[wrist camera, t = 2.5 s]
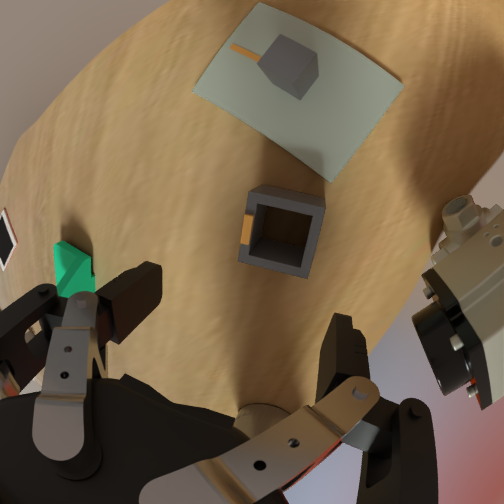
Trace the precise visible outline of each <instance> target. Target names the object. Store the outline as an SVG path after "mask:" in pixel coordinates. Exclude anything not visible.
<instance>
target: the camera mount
mask: <svg viewBox="0 0 504 504" xmlns="http://www.w3.org/2000/svg"><path fill="white" fill-rule="evenodd" d="M54 262H55V274H56V283H57V286H56V288H57V292H58V296H62V297H66V298H69V297H70V296H71V295H73V294H74V293H77V292H81V291H89V292H93V293H94V292H95V275H93V274H92V273H91V257H90V256H88V255H87V254H85V253H83V252H82V251H80V250H78V249H77V248H75V247H73V246H72V245H70V244H68V243H67V242H65V241H60V242H58V243H56V244H54Z"/></svg>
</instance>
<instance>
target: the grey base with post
mask: <svg viewBox="0 0 504 504" xmlns="http://www.w3.org/2000/svg"><path fill="white" fill-rule="evenodd" d="M403 88H404V85H403V84H402V83H400V82H399V81H398V80H397V79H395V78H394V77H393V76H392V75H390V74H389V73H388V72H386V71H385V70H384V69H382V68H381V67H380V66H378V65H377V64H375V63H374V62H373V61H371V60H370V59H368V58H367V57H365V56H364V55H362V54H361V53H359V52H358V51H356V50H355V49H353V48H352V47H350V46H348V45H347V44H345V43H344V42H342V41H340V40H338V39H337V38H335V37H333V36H332V35H330V34H328V33H326V32H324V31H322V30H321V29H319V28H317V27H315V26H313V25H311V24H309V23H307V22H305V21H303V20H301V19H299V18H297V17H294V16H292V15H290V14H288V13H285V12H283V11H281V10H278V9H276V8H274V7H271V6H268V5H266V4H263V3H261V2H258V4H257V5H256V6H255V7H254V8H253V9H252V10H251V12H250V13H249V14H248V15H247V16H246V17H245V19H244V20H243V21H242V22H241V23H240V25H239V26H238V27H237V28H236V30H235V31H234V32H233V33H232V35H231V36H230V37H229V38H228V40H227V41H226V42H225V44H224V45H223V46H222V48H221V49H220V50H219V52H218V53H217V55H216V56H215V57H214V59H213V60H212V62H211V63H210V64H209V66H208V67H207V69H206V70H205V72H204V73H203V75H202V76H201V78H200V79H199V81H198V82H197V84H196V85H195V87H194V88H193V90H192V92H193V93H195V94H197V95H199V96H201V97H202V98H204V99H206V100H208V101H210V102H211V103H213V104H215V105H216V106H218V107H220V108H222V109H223V110H225V111H227V112H228V113H230V114H232V115H233V116H235V117H237V118H238V119H240V120H241V121H243V122H245V123H246V124H248V125H249V126H251V127H253V128H254V129H256V130H257V131H259V132H260V133H262V134H263V135H265V136H266V137H268V138H269V139H271V140H272V141H274V142H275V143H277V144H278V145H280V146H281V147H282V148H284V149H285V150H287V151H288V152H290V153H291V154H292V155H294V156H295V157H297V158H298V159H299V160H301V161H302V162H303V163H305V164H306V165H308V166H309V167H310V168H312V169H313V170H314V171H316V172H317V173H318V174H319V175H321V176H322V177H323V178H325V179H326V180H327V181H329V182H330V183H332V182H333V181H334V180H335V178H336V177H337V176H338V174H339V173H340V172H341V170H342V169H343V168H344V167H345V165H346V164H347V163H348V161H349V160H350V159H351V157H352V156H353V155H354V153H355V152H356V151H357V149H358V148H359V147H360V146H361V144H362V143H363V142H364V140H365V139H366V138H367V136H368V135H369V134H370V132H371V131H372V130H373V128H374V127H375V126H376V124H377V123H378V122H379V120H380V119H381V118H382V116H383V115H384V113H385V112H386V111H387V109H388V108H389V107H390V105H391V104H392V103H393V101H394V100H395V99H396V97H397V96H398V94H399V93H400V92H401V90H402V89H403Z"/></svg>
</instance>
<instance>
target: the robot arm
mask: <svg viewBox="0 0 504 504" xmlns="http://www.w3.org/2000/svg"><path fill="white" fill-rule="evenodd" d="M161 299H162V267H161V265H158V264H155V263H152V262H149V261H145V262H143V263H142V264H141V265H139V266H138V267H136V268H132V269H129V270H126V271H124V272H123V273H121V274H120V275H119V276H118V277H116V278H114V279H113V280H112V281H110V282H108V283H107V284H106V285H104V286H103V287H101V288H100V289H99V290H97V291H96V292H94V293H93V292H89V291H81V292H77V293H74V294H73V295H71V296H70V297H69V298H66V297H62V296H58V292H57V288H56V286H55V285H53V284H41V285H38V286H36V287H35V288H33V289H32V290H30V291H29V292H27V293H26V294H25V295H23V296H22V297H20V298H19V299H18V300H16V301H15V302H13V303H12V304H11V305H9V306H8V307H7V308H5V309H4V310H3V311H1V312H0V504H289V503H288V501H287V500H286V498H285V496H284V494H283V492H285V491H286V490H288V489H289V488H290V487H292V486H293V485H294V484H296V483H297V482H298V481H300V480H301V479H302V478H303V477H304V476H306V475H307V474H308V473H309V472H310V471H311V470H313V469H314V468H315V467H316V466H317V465H319V464H320V463H321V462H322V461H323V460H325V459H326V458H327V457H328V456H329V455H330V454H331V453H332V452H334V451H335V450H336V449H337V448H338V447H339V446H340V445H341V444H342V443H346V444H348V445H350V446H352V447H355V448H358V449H360V450H362V451H363V455H362V465H361V475H360V483H359V490H358V496H357V503H356V504H438V473H437V459H436V447H435V438H434V430H433V423H432V417H431V412H430V409H429V408H428V407H427V405H426V404H425V403H424V402H422V401H421V400H419V399H416V398H407V399H405V400H403V401H402V402H401V404H400V405H399V404H396V403H394V402H391V401H389V400H386V399H384V398H383V397H381V396H380V392H379V389H378V387H377V386H376V384H374V383H373V382H372V381H371V380H370V372H369V363H368V356H367V349H366V347H367V346H366V339H365V337H364V336H363V334H362V333H361V331H360V330H357V329H353V325H352V317H351V316H348V315H343V314H339V313H334V315H333V317H332V319H331V322H330V325H329V327H328V330H327V332H326V335H325V337H324V340H323V343H322V346H321V350H320V359H319V371H318V381H317V390H316V399H315V405H313V406H312V407H310V406H309V405H305V406H303V407H302V408H300V409H298V410H297V411H296V412H294V413H293V414H291V415H290V414H288V413H287V412H286V411H284V410H282V409H280V408H277V407H274V406H270V405H264V404H252V405H248V406H245V407H243V408H242V409H240V411H239V413H238V415H237V418H236V419H235V418H234V417H230V416H227V415H224V414H221V413H218V412H215V411H212V410H209V409H206V408H201V407H194V406H188V405H182V404H176V403H173V402H171V401H169V400H168V399H167V398H165V397H164V396H163V395H161V394H160V393H159V392H157V391H156V390H155V389H153V388H152V387H151V386H149V385H148V384H146V383H143V382H141V381H139V380H137V379H135V378H133V377H131V376H129V375H127V374H124V375H123V376H122V378H121V379H120V380H118V379H112V378H108V346H107V342H108V341H109V340H111V341H113V342H115V343H117V344H120V343H121V342H122V341H123V340H124V339H125V338H126V337H127V336H128V335H129V334H130V333H131V332H132V331H133V330H134V329H135V328H136V327H137V326H138V325H139V324H140V323H141V322H142V321H143V320H144V319H145V318H146V317H147V316H148V315H149V314H150V313H151V312H152V311H153V310H154V309H155V308H156V307H157V306H158V305H159V303H160V301H161ZM38 320H39V323H40V326H41V329H42V330H41V331H40V332H39V333H38V334H37V335H35V336H34V337H33V338H32V339H31V340H30V341H29V342H28V343H26V341H25V332H26V330H27V329H28V328H29V327H31V326H32V325H33V324H34V323H35V322H37V321H38ZM44 367H45V371H44V376H43V383H42V390H41V391H39V392H33V393H28V394H22V395H19V393H20V392H21V391H22V390H23V389H24V388H25V387H26V386H27V384H28V383H29V382H30V381H31V380H32V379H33V378H34V377H35V376H36V375H37V374H38V373H39V372H40V371H41V370H42V369H43V368H44Z"/></svg>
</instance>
